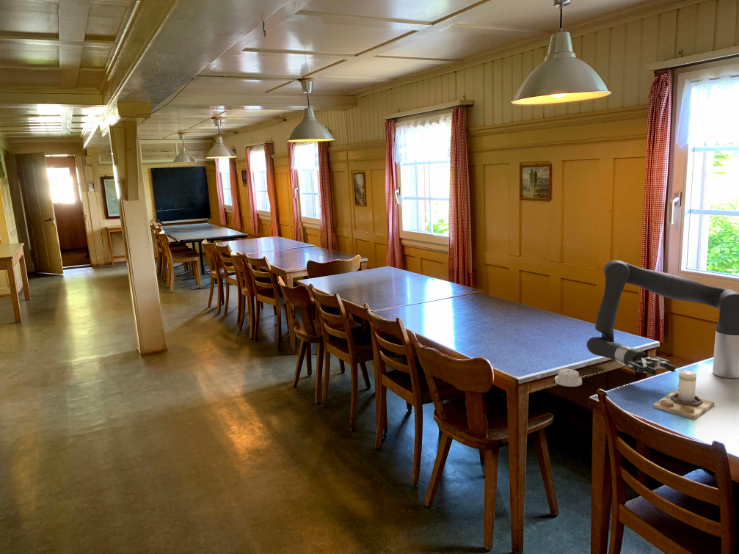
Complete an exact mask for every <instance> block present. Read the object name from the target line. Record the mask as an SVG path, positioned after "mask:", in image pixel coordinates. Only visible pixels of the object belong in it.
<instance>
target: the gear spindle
mask: <svg viewBox="0 0 739 554" xmlns="http://www.w3.org/2000/svg"><path fill="white" fill-rule="evenodd" d="M696 384H697V373H696V372H694V371H693V370H692V371H691V370H686V369H684V370H680V371H679V372H678V391H677V392H678V400H679V401H682V402H685V403H694V402H695V396H696V387H697V385H696Z"/></svg>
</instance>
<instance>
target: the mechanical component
mask: <svg viewBox="0 0 739 554" xmlns="http://www.w3.org/2000/svg"><path fill="white" fill-rule="evenodd" d="M554 382H555V383H556V384H557V385H559V386H563V387H580V386H581V385H582V384H583V379H582V378H581V377H580V373H579V371H577V370H576V369H575V370H574V369H572V368H561V369H559V370H558V374H557V375H555V377H554Z"/></svg>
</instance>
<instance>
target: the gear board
mask: <svg viewBox="0 0 739 554" xmlns="http://www.w3.org/2000/svg"><path fill="white" fill-rule="evenodd" d="M652 406H653V408H655V409H658V410H661V411H665V412H668V413H672V414H675V415H679V416H681V417H685V418H688V419H692V420H696V419H697V418H699V417H700V416H701V415H702V414H703V415H704V413H705V412H707V411H709V409H711V408H712V407H714V406H715V401H713V400H709V399H705V398H702V397H699V396H697V395H695V402H694V403H685V402H682V401H679V400H678V391H677V390H676V391H675V390H673V391H672V392H671V393H669V394H666V395H665V396H664V397H662V398H660V399H659V400H657V401H656V402H654V403H653V405H652Z"/></svg>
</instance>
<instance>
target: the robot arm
mask: <svg viewBox="0 0 739 554" xmlns="http://www.w3.org/2000/svg"><path fill="white" fill-rule="evenodd" d="M603 267H604V268H603V275H604V278H605V283H604V284H605V285H604V290H603V291H604V292H603V297H602V300H601V303H600V305H599V308H598V312H597V316H596V319H595V321H596V322H595V326H594V327H595V330H596V332H599V333H601V336H592V337H590V338H588V339H587V342H586V349H587V350H588V351H589V352H590V353H591V354H593V355H595V356H598V357H603V358H607V359H610V360H612V361H615V362H618V363H619V364H620V365H623V366H625V367H628V369H629V370H632V371H633V372H636V373H638V374H641V373H643V374H649V375H652V376H657V374H658V373H657V370H660V369H664V370H666V371H670V372H671V373H675V372H676V366H675V365H673V364H671V363H670V361H671V360H669V359H666V358H662V357H659V356H655V357H654V358H652V357H648V356H647V353H645V352H644V351H642V350H640V349H637V348H634V347H631V346H628V345H624V344H621V343H619V342H615V336H614V334H615V333H614V332H615V331H614V327H615V323H616V319H617V314H618V311H619V310H618V309H619V305H620V304H619V303H620V300H621V297H622V293H623V291H624V288H625V286H626V284H629V285H633V286H637V287H640V288H642V289H645V290H646V291H648V292H651V293H653V294H656V295H658V296H661V297H664V298H668V299H672V300H675V301H682V302H694V303H699V304H700V303H701V304H704V305H707V306H711V307H712V308H713V307H714V308H716V309H718V310H719V315H718V321H717V323H716V324H715V325H716V326H715V337H714V349H713V362H712V363H713V364H712V374H713V375H715V376H718V377H721V378H725V379H739V290H735V289H732V288H731V289H730V288H725V287H719V286H712V285H708V284H704V283H701V282H699V281H695V280H693V279H690V278H686V277H684V276H679V275H677V274H676V275H675V274H672V273H668V272H667V273H666V272H663V271H657V270H653V269H647V268H642V267H639V266H636V265H633V264H631V263H628V262H626V261H622V260H619V259H613V260H610V261H608V262H606V264H605V265H604V266H603Z"/></svg>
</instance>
